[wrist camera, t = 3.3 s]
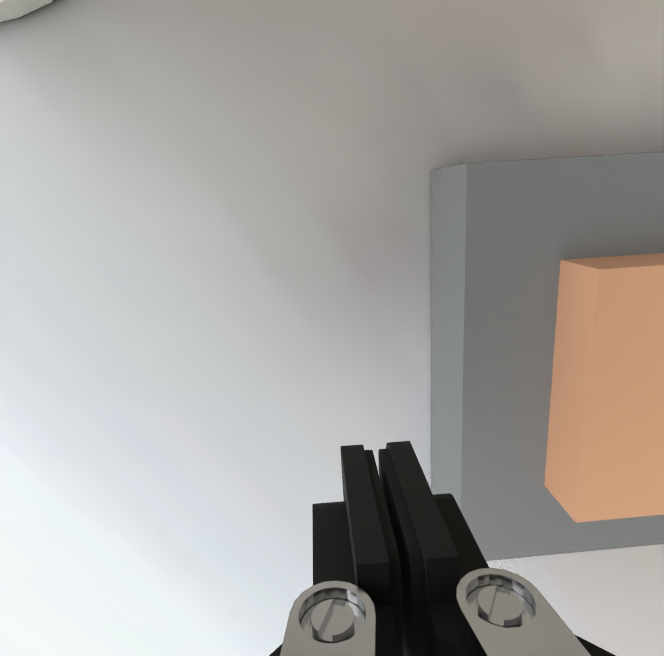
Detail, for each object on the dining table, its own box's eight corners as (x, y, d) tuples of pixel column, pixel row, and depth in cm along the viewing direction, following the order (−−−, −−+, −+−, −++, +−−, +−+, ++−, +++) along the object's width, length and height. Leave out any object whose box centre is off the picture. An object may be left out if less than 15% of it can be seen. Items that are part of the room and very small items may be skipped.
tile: (560, 259, 15) (599, 269, 13) (746, 247, 15) (811, 255, 13) (544, 485, 17) (575, 522, 15) (706, 470, 17) (758, 505, 15)
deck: (430, 170, 18) (467, 163, 14) (841, 145, 18) (984, 133, 14) (431, 497, 21) (459, 563, 18) (771, 466, 22) (870, 524, 18)
